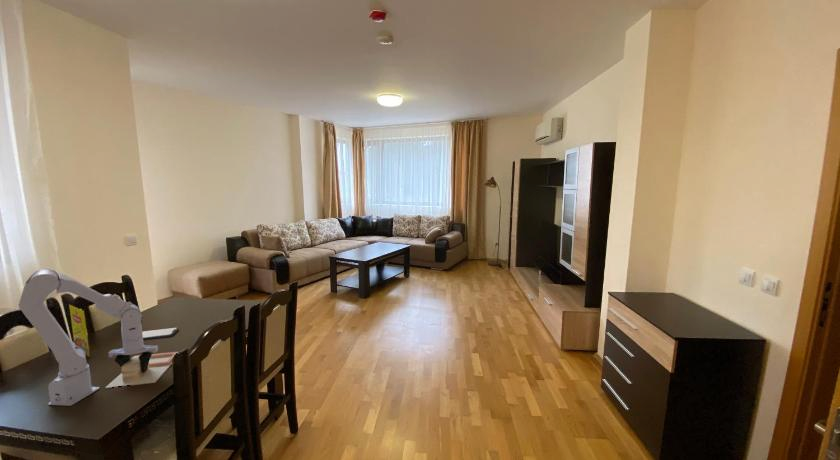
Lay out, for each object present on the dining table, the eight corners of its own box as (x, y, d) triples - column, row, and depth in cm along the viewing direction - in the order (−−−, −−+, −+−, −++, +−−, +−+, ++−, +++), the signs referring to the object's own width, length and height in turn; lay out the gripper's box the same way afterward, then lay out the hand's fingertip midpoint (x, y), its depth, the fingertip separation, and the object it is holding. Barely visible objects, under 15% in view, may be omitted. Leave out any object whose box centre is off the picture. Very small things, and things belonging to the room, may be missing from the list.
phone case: (130, 342, 151) (171, 337, 155) (130, 339, 151) (171, 334, 155) (140, 334, 159) (179, 330, 164) (140, 331, 159) (178, 326, 164)
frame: (178, 354, 139) (178, 351, 139) (168, 364, 131) (168, 362, 131) (145, 357, 136) (144, 355, 136) (133, 368, 128) (132, 365, 128)
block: (137, 380, 120) (136, 365, 119) (123, 382, 119) (121, 367, 118) (149, 369, 128) (147, 354, 127) (135, 370, 127) (134, 355, 126)
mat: (155, 382, 120) (155, 381, 120) (105, 388, 116) (105, 387, 116) (180, 354, 140) (180, 353, 140) (139, 358, 136) (138, 357, 136)
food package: (73, 348, 143) (67, 304, 141) (76, 347, 144) (71, 303, 142) (88, 357, 136) (82, 311, 134) (91, 356, 137) (85, 310, 135)
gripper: (160, 331, 127) (164, 364, 129) (115, 334, 123) (119, 368, 125) (151, 339, 120) (154, 373, 122) (103, 343, 117) (107, 379, 118)
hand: (136, 372), depth 123 cm, fingers open, 5 cm apart
